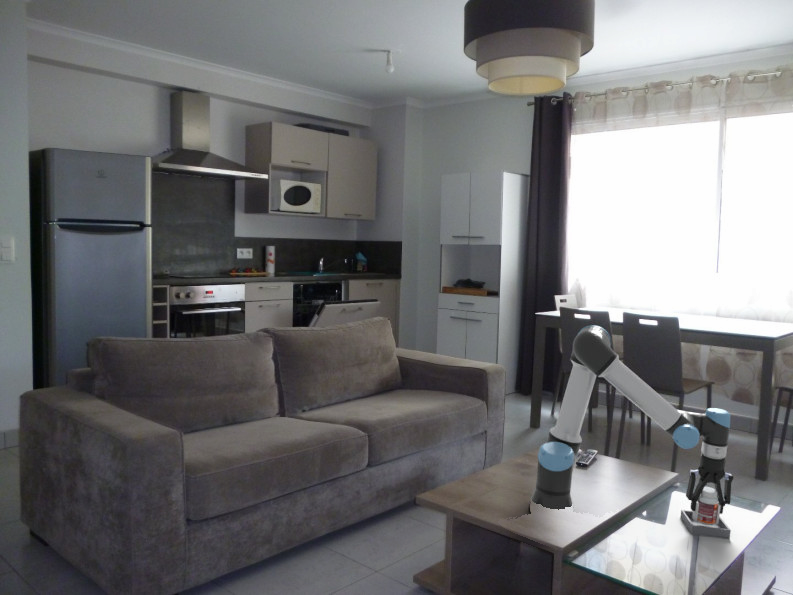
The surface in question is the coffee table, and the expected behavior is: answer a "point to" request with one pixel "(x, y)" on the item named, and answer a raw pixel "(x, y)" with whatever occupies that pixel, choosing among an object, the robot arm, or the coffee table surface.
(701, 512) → the pill bottle
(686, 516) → the tray
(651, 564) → the coffee table surface
